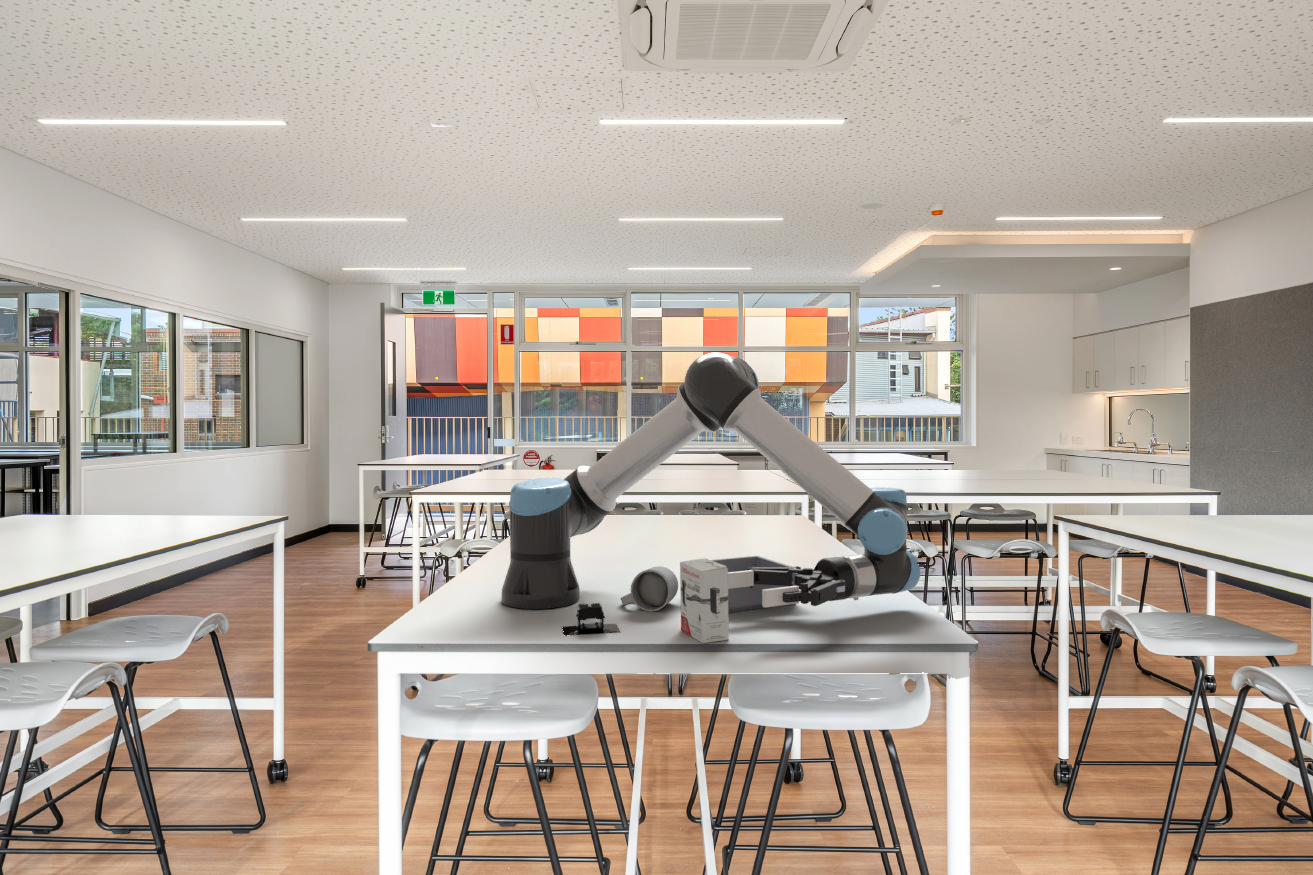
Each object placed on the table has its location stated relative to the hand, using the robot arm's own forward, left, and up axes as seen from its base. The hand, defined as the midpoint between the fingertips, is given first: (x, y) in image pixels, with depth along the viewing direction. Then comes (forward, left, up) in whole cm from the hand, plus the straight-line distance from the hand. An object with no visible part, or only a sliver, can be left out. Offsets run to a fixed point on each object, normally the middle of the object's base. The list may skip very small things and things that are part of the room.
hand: (740, 589), depth 121 cm
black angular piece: (-11, -23, -8) cm, 26 cm away
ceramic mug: (-21, -8, -7) cm, 23 cm away
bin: (-17, +10, -7) cm, 21 cm away
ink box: (0, -7, -7) cm, 10 cm away
